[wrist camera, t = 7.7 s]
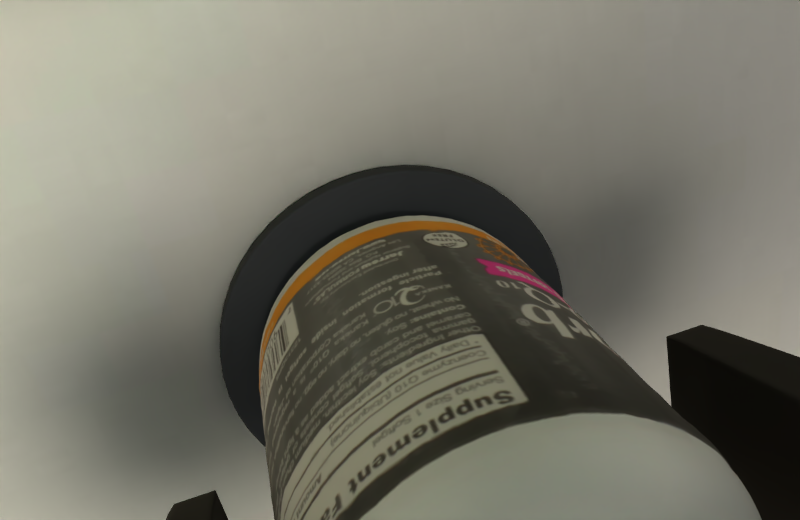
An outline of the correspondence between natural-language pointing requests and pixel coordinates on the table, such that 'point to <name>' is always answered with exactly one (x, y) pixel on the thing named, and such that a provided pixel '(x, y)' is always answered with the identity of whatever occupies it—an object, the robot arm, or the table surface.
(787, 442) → the robot arm
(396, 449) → the pill bottle
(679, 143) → the table surface
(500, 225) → the coaster
